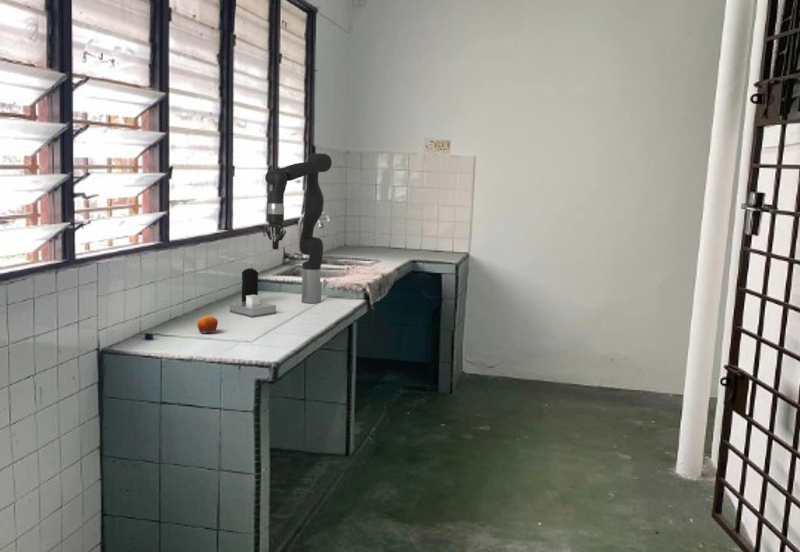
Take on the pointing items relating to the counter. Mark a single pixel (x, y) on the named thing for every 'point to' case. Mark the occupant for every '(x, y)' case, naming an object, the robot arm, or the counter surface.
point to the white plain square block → (252, 300)
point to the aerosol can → (249, 282)
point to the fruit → (207, 324)
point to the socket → (252, 309)
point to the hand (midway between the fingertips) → (275, 249)
